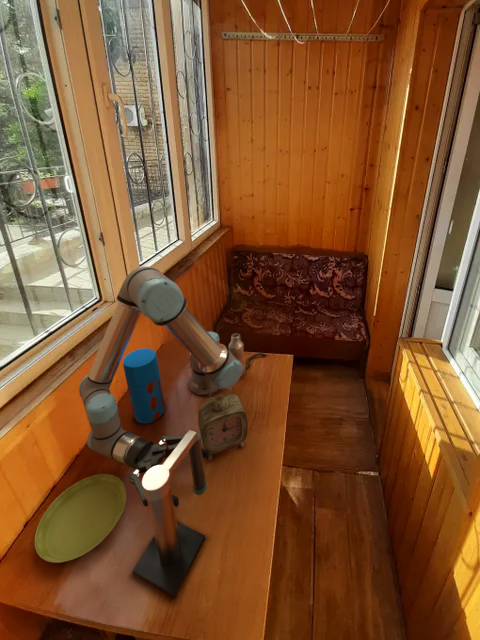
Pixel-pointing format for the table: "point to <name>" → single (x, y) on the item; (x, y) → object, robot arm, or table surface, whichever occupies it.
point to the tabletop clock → (222, 422)
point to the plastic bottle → (237, 349)
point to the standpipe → (168, 549)
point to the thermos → (144, 385)
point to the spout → (159, 476)
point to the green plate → (80, 518)
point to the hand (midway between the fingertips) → (194, 477)
